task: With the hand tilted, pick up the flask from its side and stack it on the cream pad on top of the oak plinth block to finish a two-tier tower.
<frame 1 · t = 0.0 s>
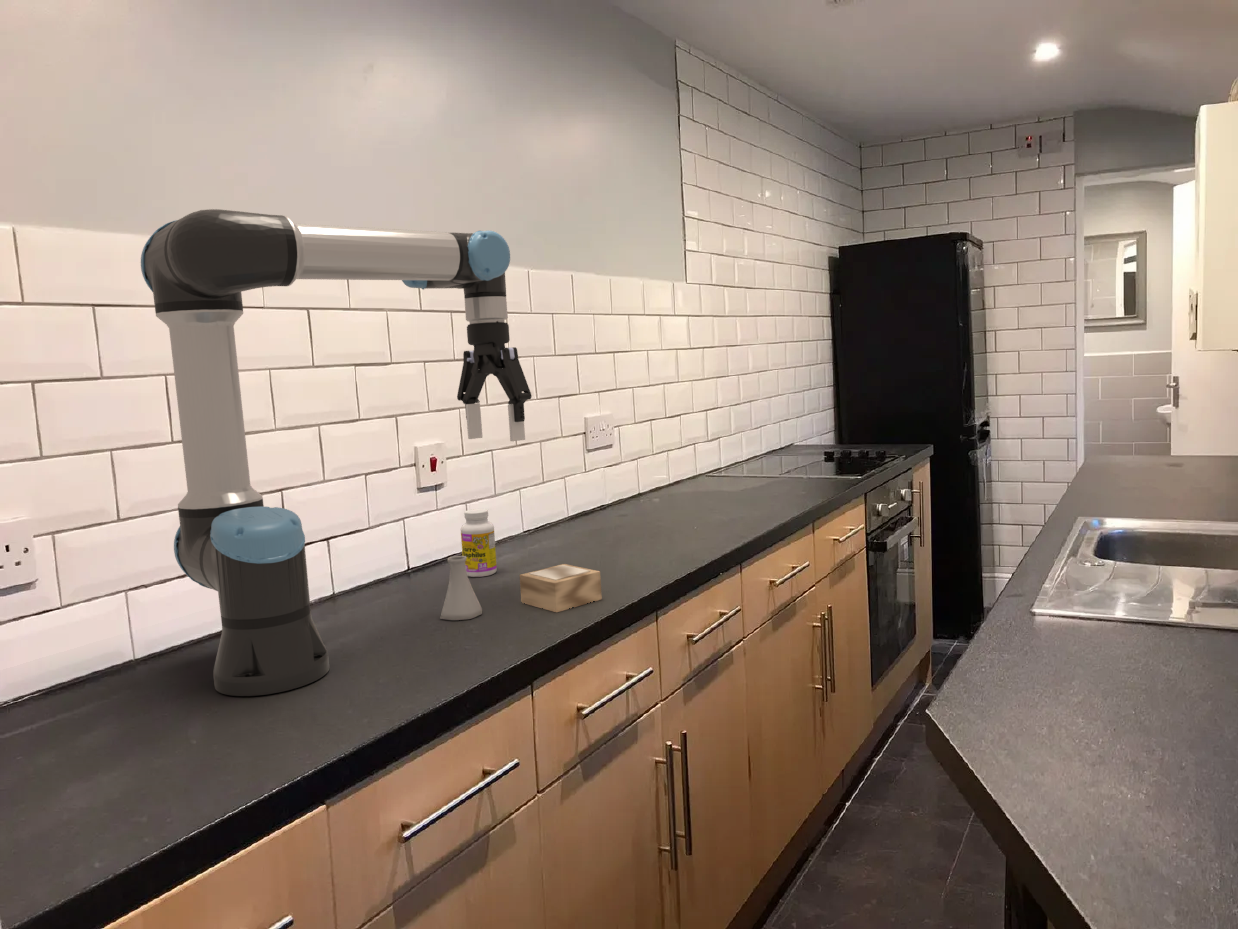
hand: (495, 439, 167), 28 cm above the worktop, tool pointing down, fingers open, 13 cm apart
oak plinth: (561, 601, 159), on the worktop
supplement bottle: (480, 574, 184), on the worktop
flask: (461, 616, 154), on the worktop
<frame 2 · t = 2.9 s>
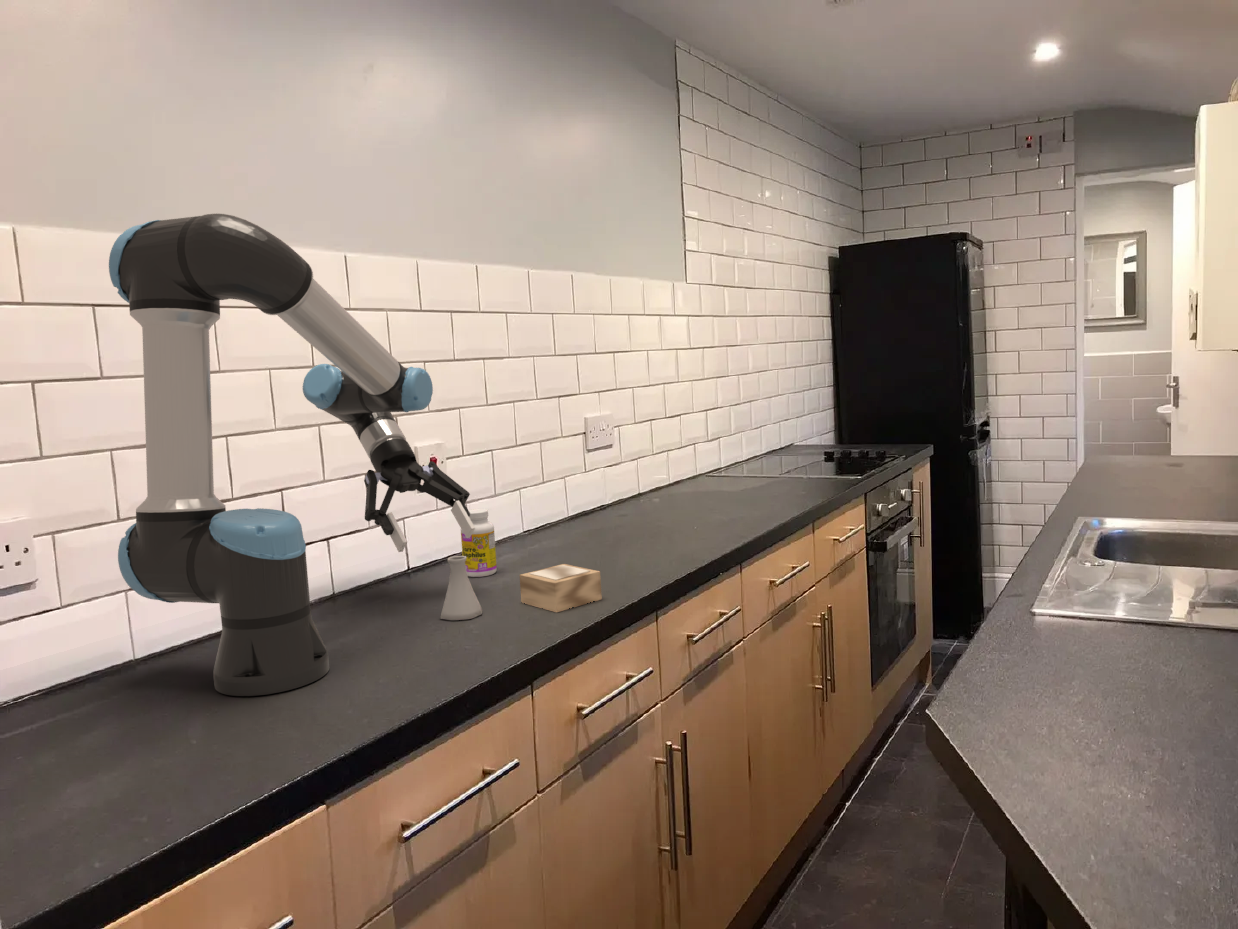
hand: (438, 540, 159), 12 cm above the worktop, tool tilted 45°, fingers open, 13 cm apart
nothing on the worktop moved.
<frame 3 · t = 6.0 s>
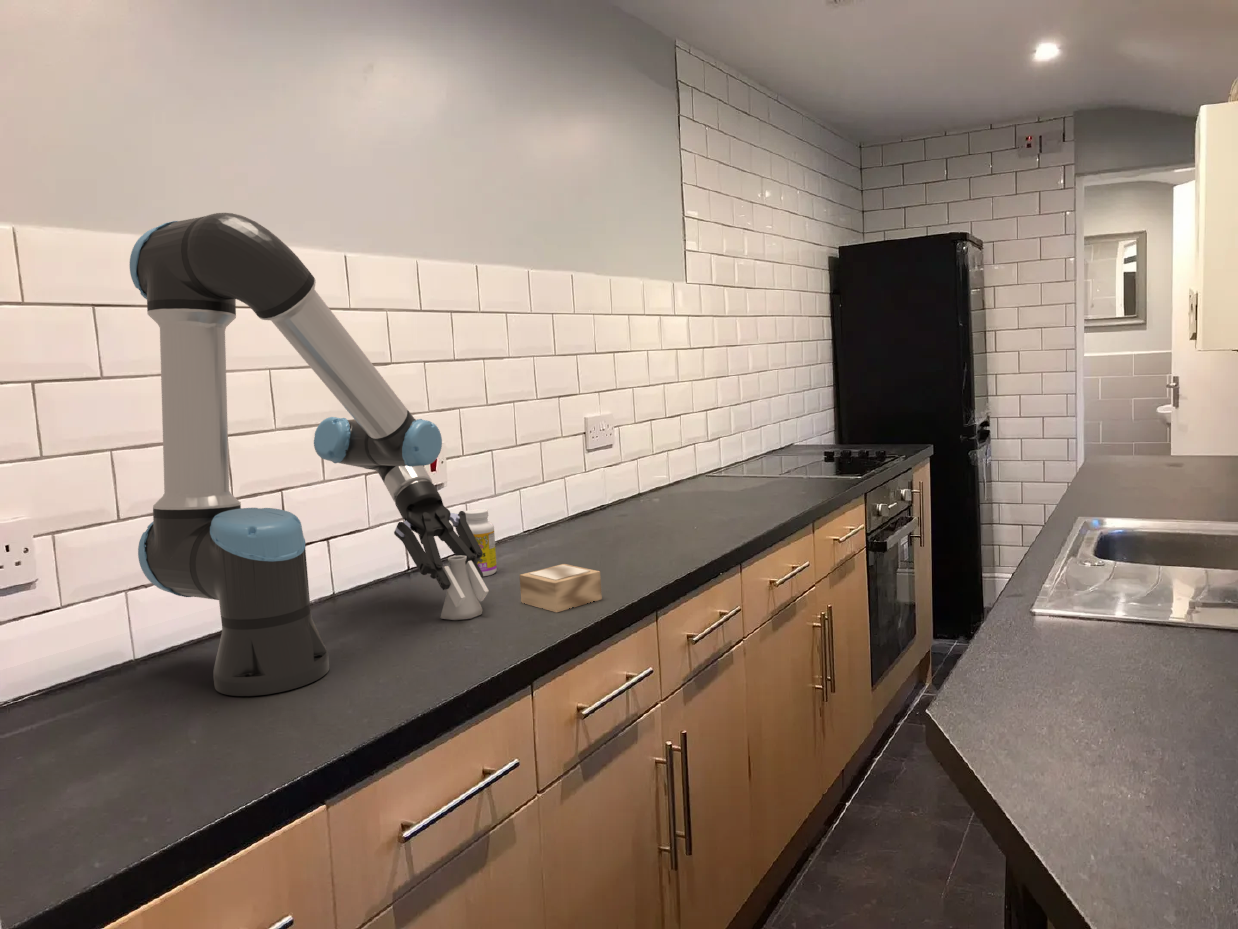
hand: (472, 599, 151), 3 cm above the worktop, tool tilted 45°, fingers closed on flask, 4 cm apart
flask: (461, 616, 154), on the worktop, touching gripper
everything else where it was.
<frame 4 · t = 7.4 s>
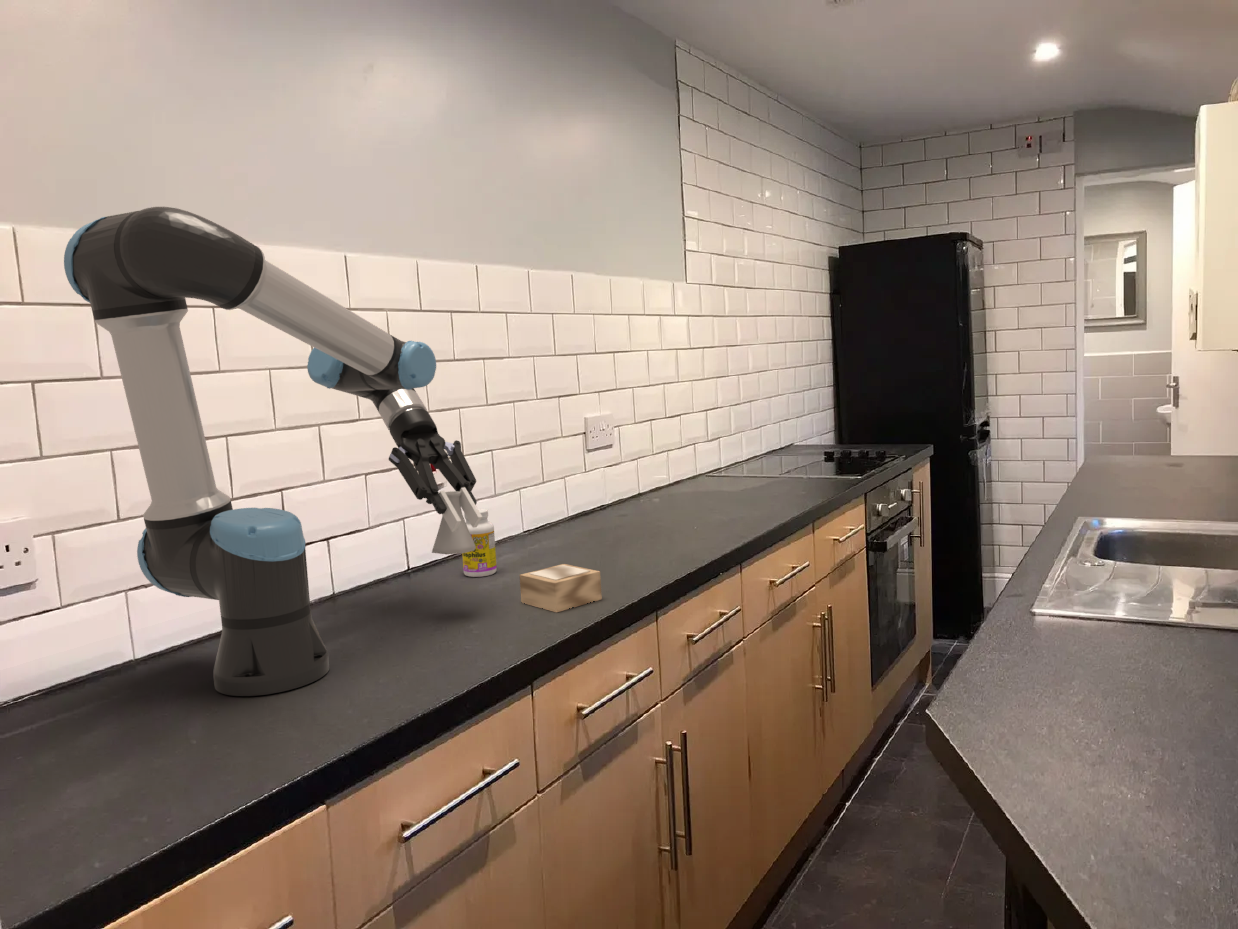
hand: (467, 524, 149), 16 cm above the worktop, tool tilted 45°, fingers closed on flask, 3 cm apart
flask: (454, 552, 153), point 11 cm above the worktop, touching gripper
everything else where it was.
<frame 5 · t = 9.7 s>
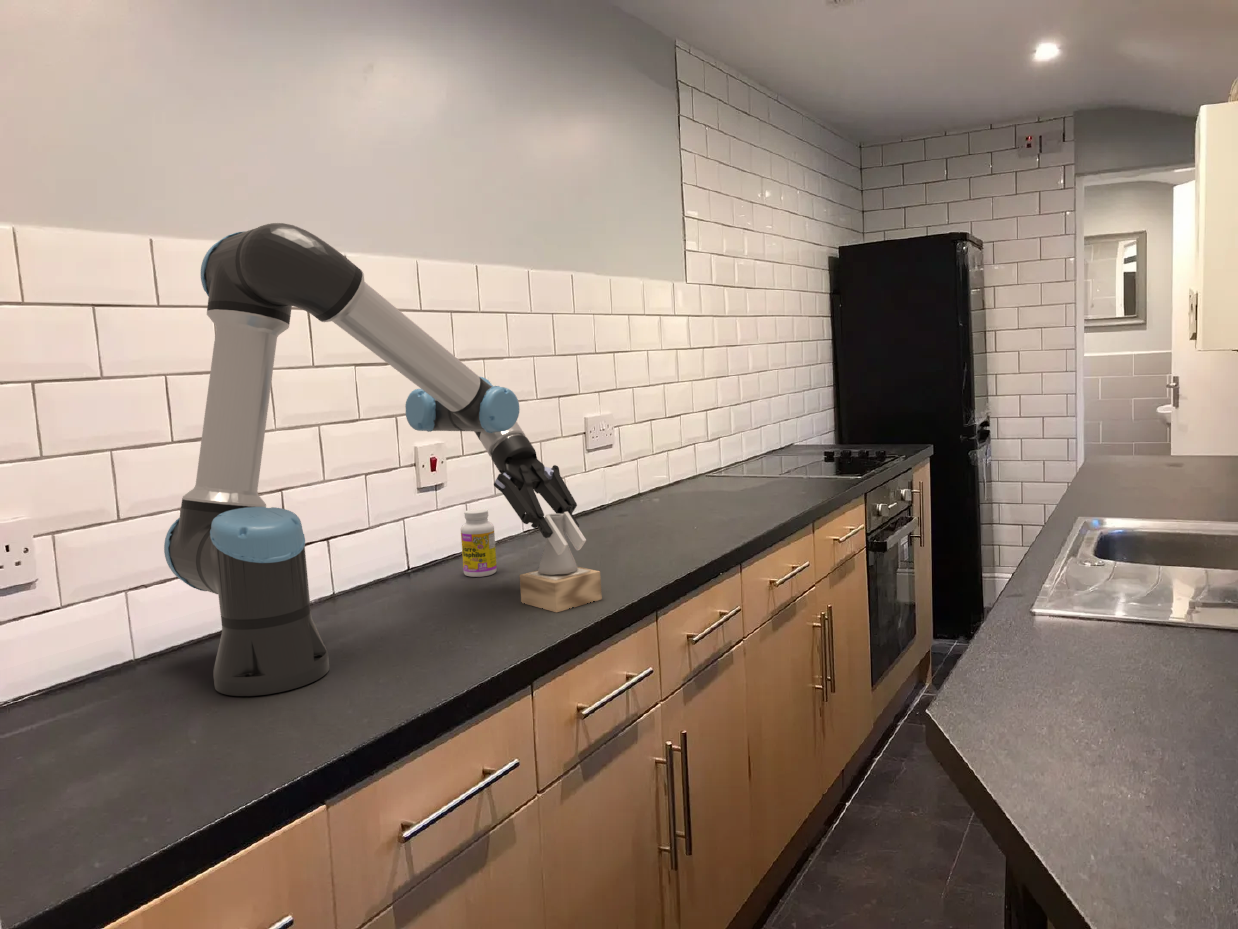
hand: (572, 547, 155), 10 cm above the worktop, tool tilted 45°, fingers closed on flask, 3 cm apart
flask: (557, 572, 159), point 5 cm above the worktop, touching gripper, oak plinth
everything else where it was.
when the fingers open (10 cm above the worktop, at t = 9.9 s): flask stays where it is, resting on oak plinth.
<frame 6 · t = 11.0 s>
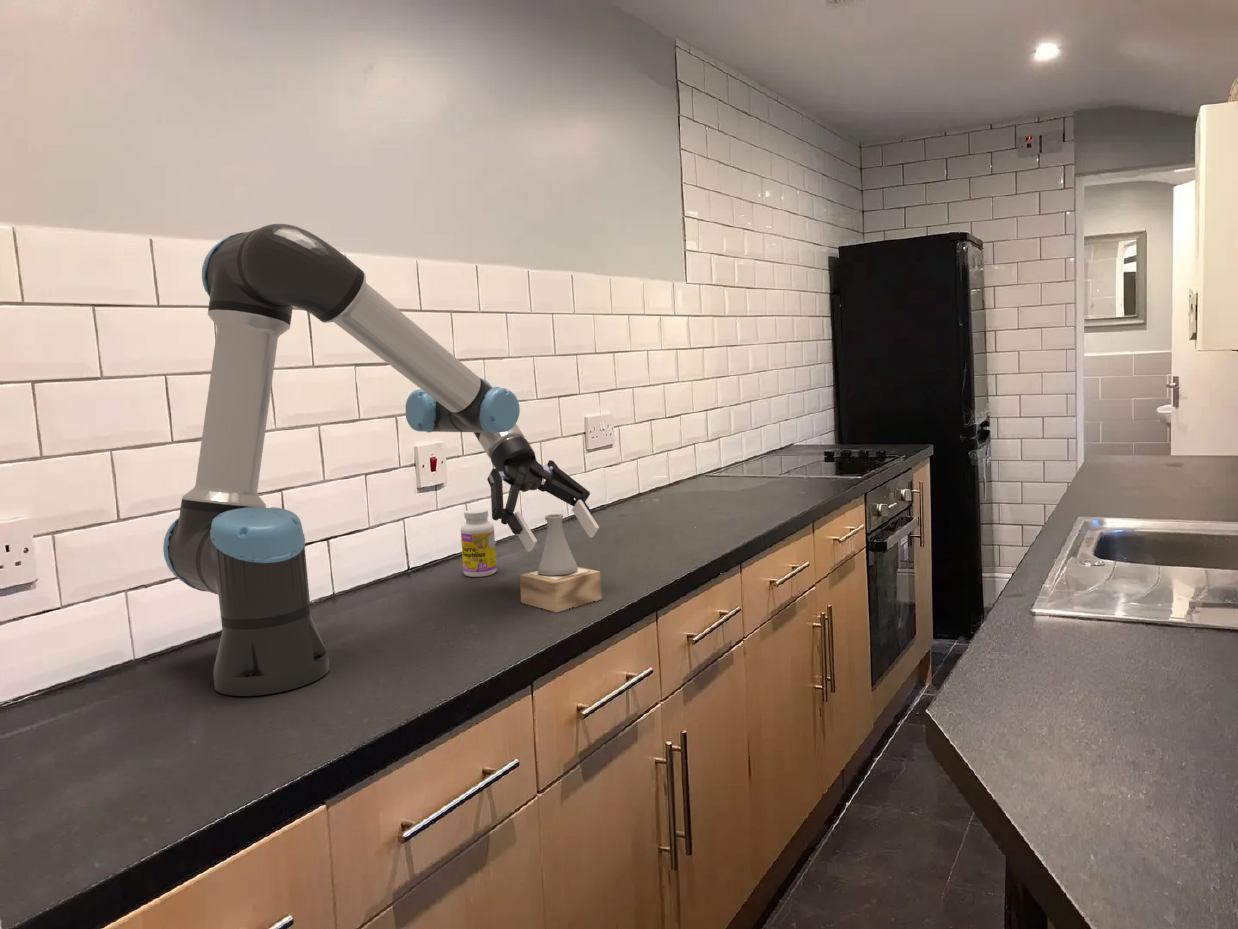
hand: (564, 539, 157), 11 cm above the worktop, tool tilted 45°, fingers open, 13 cm apart
flask: (557, 573, 159), point 5 cm above the worktop, touching oak plinth
everything else where it was.
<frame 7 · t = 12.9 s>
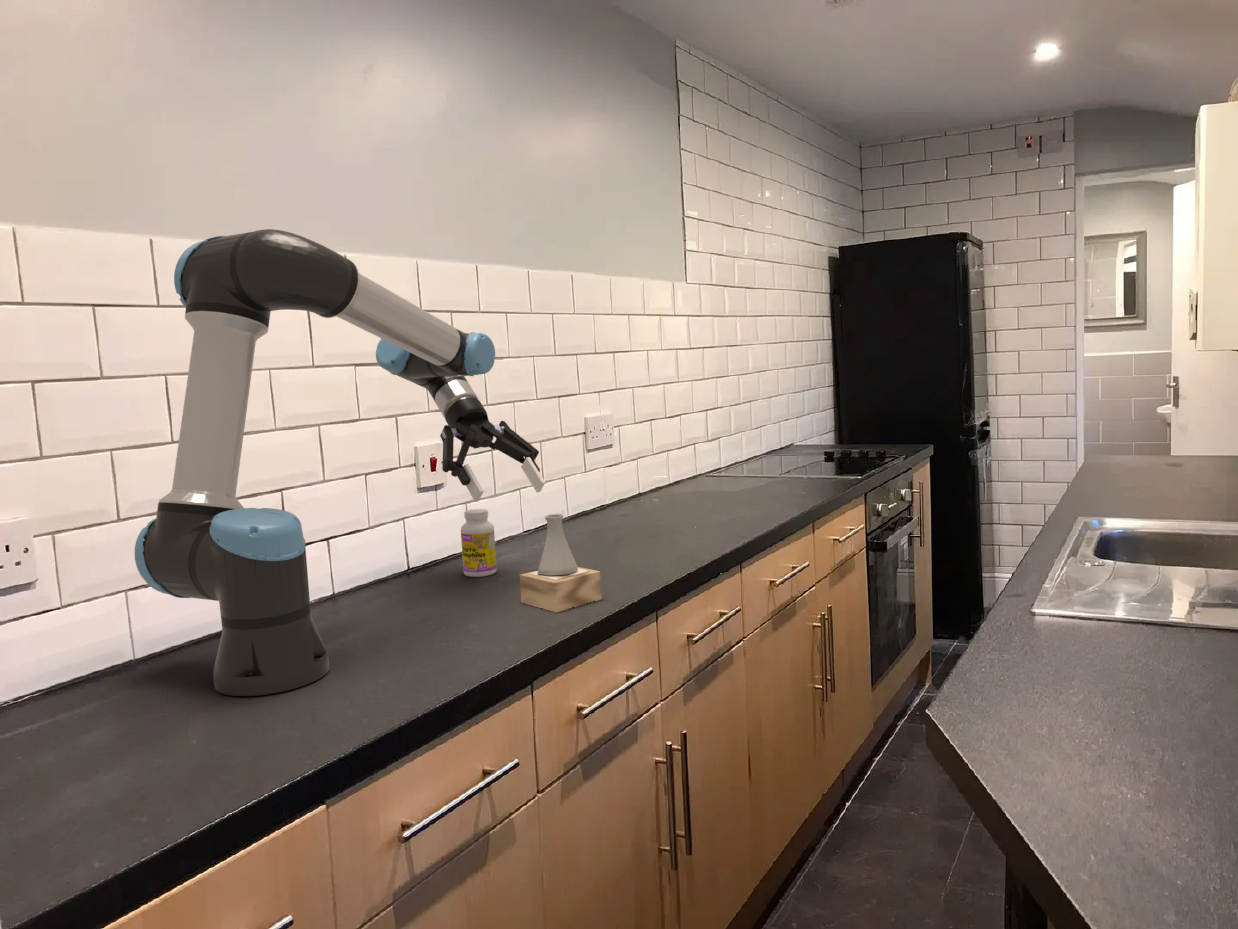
hand: (511, 492, 166), 18 cm above the worktop, tool tilted 45°, fingers open, 13 cm apart
nothing on the worktop moved.
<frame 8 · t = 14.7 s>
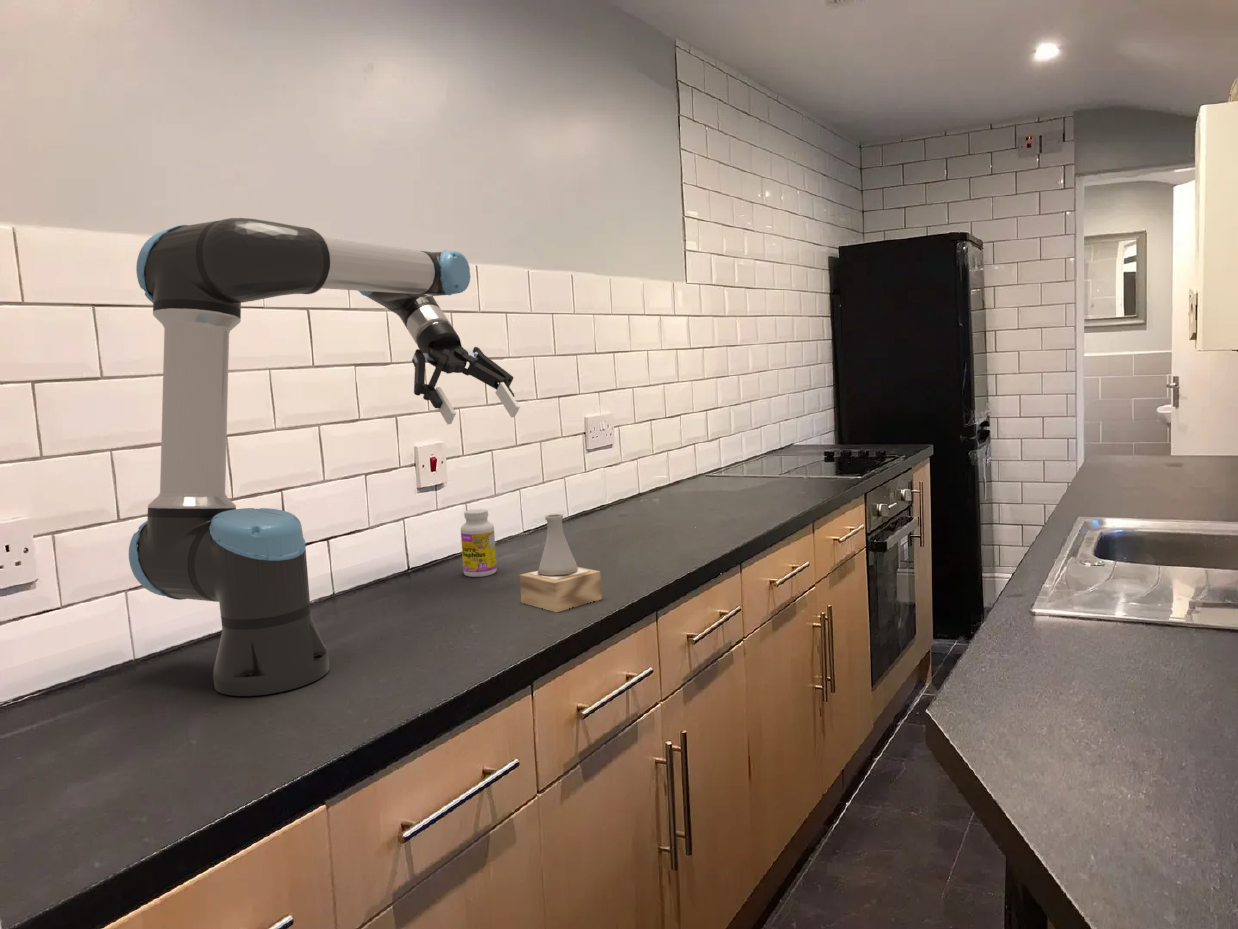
hand: (484, 415, 163), 33 cm above the worktop, tool tilted 45°, fingers open, 13 cm apart
nothing on the worktop moved.
at the end: flask inside the target area on the oak plinth (0.4 cm from its centre), point 5.0 cm above the oak plinth's base; flask tilted 0°; the gripper is holding nothing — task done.
